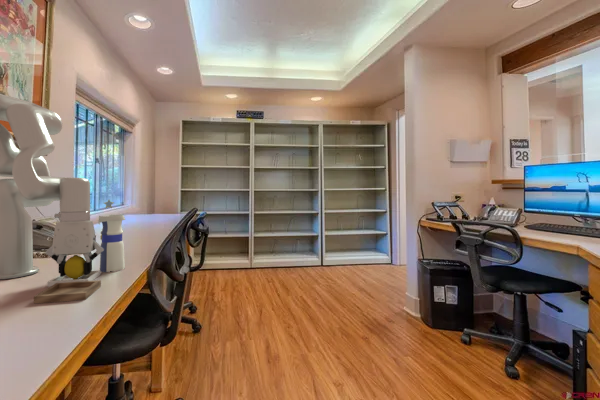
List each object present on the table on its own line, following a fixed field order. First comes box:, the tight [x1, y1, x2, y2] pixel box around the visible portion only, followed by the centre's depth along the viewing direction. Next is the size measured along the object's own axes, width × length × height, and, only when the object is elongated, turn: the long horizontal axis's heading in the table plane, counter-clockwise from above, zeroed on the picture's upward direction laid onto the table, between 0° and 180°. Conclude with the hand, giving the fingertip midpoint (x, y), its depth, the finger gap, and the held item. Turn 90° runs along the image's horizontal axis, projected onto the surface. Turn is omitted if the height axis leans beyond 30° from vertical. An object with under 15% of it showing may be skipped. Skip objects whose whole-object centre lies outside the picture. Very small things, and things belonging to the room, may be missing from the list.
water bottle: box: [98, 199, 126, 273], centre depth 104 cm, size 8×9×25 cm
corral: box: [46, 269, 101, 288], centre depth 92 cm, size 10×10×1 cm
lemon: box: [64, 254, 86, 280], centre depth 92 cm, size 6×6×8 cm
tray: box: [33, 279, 102, 305], centre depth 79 cm, size 11×11×2 cm
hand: (75, 274), depth 92 cm, fingers closed on lemon, 5 cm apart
